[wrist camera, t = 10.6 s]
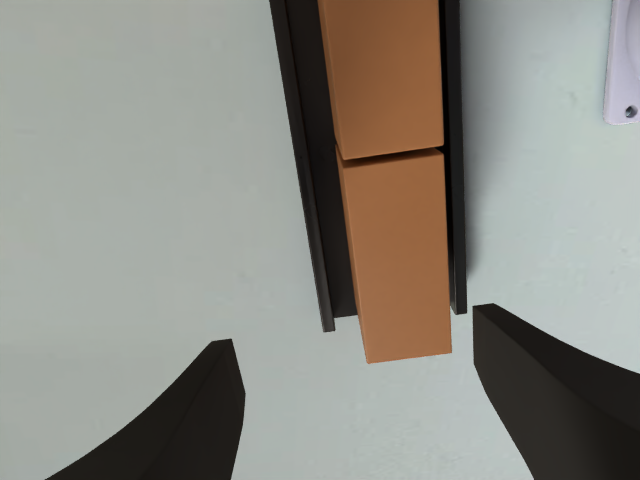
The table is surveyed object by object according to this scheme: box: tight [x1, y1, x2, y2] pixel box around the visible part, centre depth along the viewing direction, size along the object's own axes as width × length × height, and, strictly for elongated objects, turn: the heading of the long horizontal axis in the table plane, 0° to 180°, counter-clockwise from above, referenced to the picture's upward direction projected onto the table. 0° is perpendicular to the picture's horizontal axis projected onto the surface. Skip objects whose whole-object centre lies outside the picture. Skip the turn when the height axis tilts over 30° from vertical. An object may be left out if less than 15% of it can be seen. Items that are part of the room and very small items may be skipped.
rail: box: [269, 0, 467, 332], centre depth 19 cm, size 7×18×2 cm, turn 8°
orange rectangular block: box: [335, 144, 452, 364], centre depth 19 cm, size 3×8×5 cm, turn 8°
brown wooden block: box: [318, 0, 444, 160], centre depth 16 cm, size 3×8×5 cm, turn 8°
